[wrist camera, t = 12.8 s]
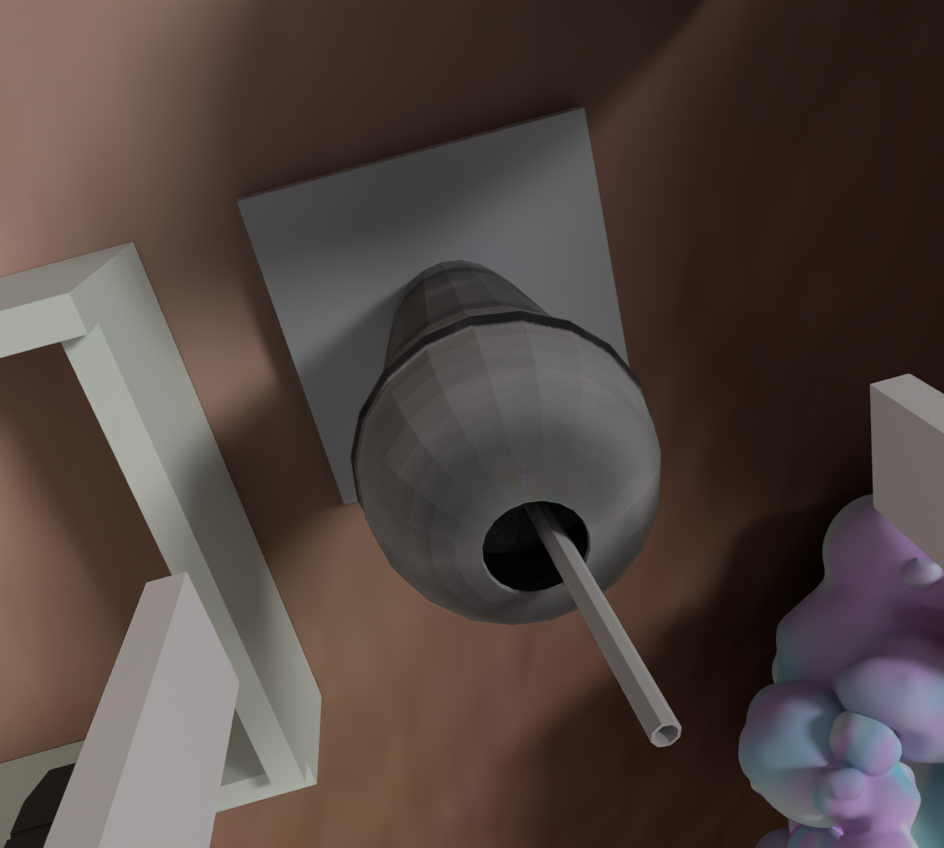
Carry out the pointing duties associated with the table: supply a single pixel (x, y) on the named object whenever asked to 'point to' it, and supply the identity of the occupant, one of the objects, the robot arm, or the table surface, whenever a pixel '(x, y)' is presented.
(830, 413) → the table surface
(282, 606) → the frame
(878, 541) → the pastel lumpy cloud blob
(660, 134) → the table surface
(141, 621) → the robot arm
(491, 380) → the beverage cup
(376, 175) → the slate tile
